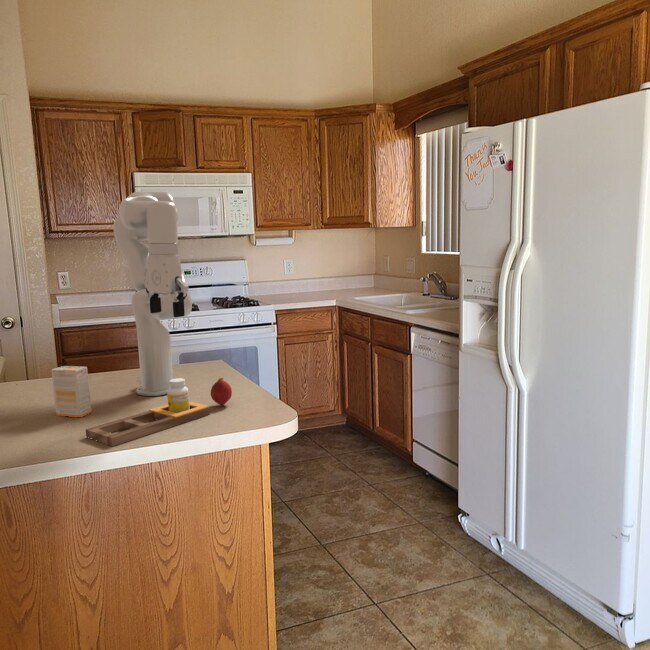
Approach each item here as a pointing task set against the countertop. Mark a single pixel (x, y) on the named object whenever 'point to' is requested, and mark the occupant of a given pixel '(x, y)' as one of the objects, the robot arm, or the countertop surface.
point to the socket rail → (139, 428)
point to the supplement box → (71, 391)
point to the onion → (221, 392)
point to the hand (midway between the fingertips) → (167, 314)
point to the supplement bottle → (178, 396)
